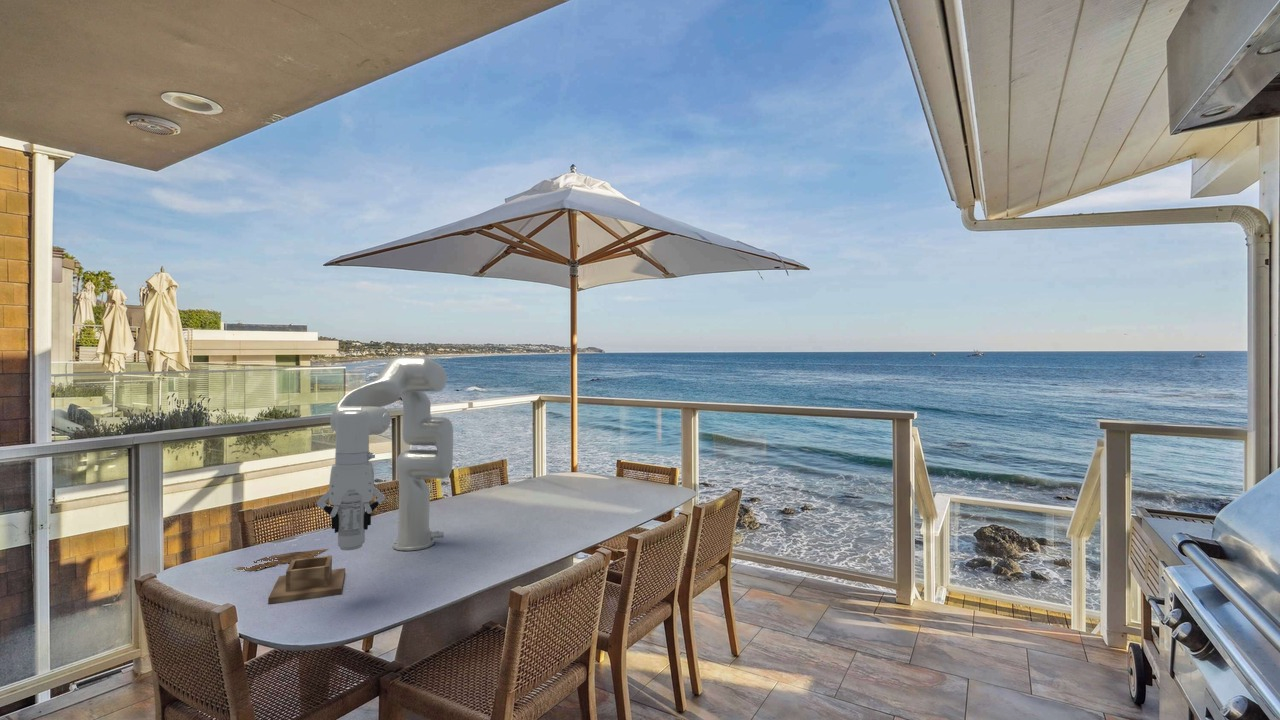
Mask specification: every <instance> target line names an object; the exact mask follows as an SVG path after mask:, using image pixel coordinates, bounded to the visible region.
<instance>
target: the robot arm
mask: <svg viewBox="0 0 1280 720" xmlns="http://www.w3.org/2000/svg"><path fill="white" fill-rule="evenodd" d="M447 381H448V377H447V372H446V370H445V368H444V367H443V366H442V365H441V364H439V363H437V362H436V361H435V360H433V359H432V358H431V359H430V358H428V357H423V356H422V357H421V356H419V357H418V356H416V357H415V356H397V357H393V358H391V359H389V360H388V361H387V362H386V364H385V365H384V366H383V367H382V369H381V371H380V372H379V373H378V375H377V376H376V377H375V379H373V381H372V382H369V383H367V384H364V385H361V386H360V387H357V388H355V389H353V390H351V391H350V392H348V393H346V394H345V395H343V397H342V398H341V399H340V400H339V402H338V403H337V404H336V405H335V407H334V409H333V411H332V413H331V415H330V419H329V420H330V421H329V423H330V424H329V425H330V428H331V430H332V431H334V433H335V456H334V457H335V458H334V459H335V460H334V461H335V462H334V463H333V464H332V465H331V469H330V473H329V474H330V475H329V487H328V490H327V491H326V492H325V493H324V495H322V496H321V497H319V499H318V500H317V501H316V505H317V506H318V507H319V508H320V509H323V511H324V512H325V513H326V514H328V515H329V516H330V517H331V530H334V534H338V509H339V506H340V505H341V498H342V496H344V495H345V494H346V493H347V492H348V491H347V490H356V491H355V492H357V493H358V494H360V495H361V499H362V503H364V507H365V525H364V529H365V531H366V530H367V531H368V528H369V526H371V525H372V513H373V511H374V510H375V509H376V508H378V506H379V505H380V504H382V502H383V501H384V500H386V495H385V494H384V493H383V492H382V491H380V489H378V488H377V487H375V475H374V474H375V473H374V466H373V462H372V461H371V460H372V459H375V458H376V452H371V451H370V436H374V435H375V436H377V435H381V434H383V433H385V432H386V431H387V430H388V429H389V427H390V424H391V419H392V418H391V414H390V412H389V411H388V410H387V409H386V408H384V407H385V406H389V405H392V404H394V403H396V402H397V401H399V399H400V398H401V401H402V406H403V407H402V410H403V412H402V413H403V414H402V439H403V442H404V443H405V444H406V445H409V446H427V447H428V446H429V447H431V446H432V447H433V446H434V447H435V448H436V449H418V448H417V449H407V450H404V451H402V452H401V453H400V454H399V455H397V458H396V472H397V477H398V523H397V524H398V525H397V527H398V528H397V529H398V530H397V531H398V532H397V533H398V535H397V540H395V541H394V542H393V543H392V549H395V550H397V551H403V552H404V551H405V552H406V551H418V550H423V549H427V548H430V547H431V546H433V545H434V541H435V540H434V539H436V538H437V539H441V538H442V539H443V538H444V533H445V532H444V531H440V530H434V531H432V530H431V529H430V506H431V505H430V501H431V500H430V497H431V496H430V495H431V493H430V492H431V490H430V488H429V486H428V484H427V483H426V481H425V479H431V480H432V479H435V480H436V479H438V480H440V479H441V480H442V479H447V478H448V477H449V476H450V475H451V473H452V471H453V470H452V469H453V463H454V462H453V461H454V460H453V457H454V426H453V424H452V421H451V420H450V419H449V418H448V417H442V416H431V403H432V402H431V400H430V398H429V396H428V395H427V392H433V393H434V392H436V393H437V392H440V391H443V390H444V388H445V387H446V384H447ZM374 496H375V497H377V498H376V499H375V500H374ZM327 500H328V503H329V504H328V503H326V501H327ZM373 500H374V501H373ZM372 501H373V502H372ZM371 502H372V503H371ZM332 506H333V507H332Z"/></svg>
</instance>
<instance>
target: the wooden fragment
mask: <svg viewBox="0 0 1280 720" xmlns="http://www.w3.org/2000/svg"><path fill="white" fill-rule="evenodd" d="M321 549H322V550H321ZM321 549H313V550H306V551H295V552H287V553H280V554H274V555H271V556H264V557H262V558H260V559H257V560H254V561H253V562H254V563H257V561H260V560H261V562H262V560H263V561H268V560H269V561H271V562H267V563H264V564H259V565H255V566H252V567H250V568H247V567H246V569H245V567H241V566H237V567H234V568H233V569H237V570H243V569H244V570H245V571H250V572H251V571H255V572H257V571H256V570H258V569H259V571H261V570H263V569H266V568H265V567H266V566H267V567H268V568H273V567H276V566H279V565H278V564H282V565H285V563H288V564H290V562H291V560H295V559H304V558H313V557H314V556H315V557H318V554H319V555H320V554H321V553H324V552H327V551H329V548H321ZM326 550H327V551H326ZM318 552H319V553H318ZM267 557H269V558H267ZM270 558H271V559H270ZM275 558H277V559H275ZM272 559H273V561H272ZM274 560H278V561H274ZM255 561H256V562H255ZM272 566H273V567H272ZM260 567H261V568H260ZM245 571H244V572H245Z"/></svg>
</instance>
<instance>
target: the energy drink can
mask: <svg viewBox="0 0 1280 720" xmlns="http://www.w3.org/2000/svg"><path fill="white" fill-rule="evenodd" d="M347 491H348V492H347V493H346V494H345V495H344V496H342V498H341V505H340V506H339V509H338V511H337V512H338V532H337V546H338V547H339V549H340V550H342V551H355V550H358V549H361V548H362V547H363V545H364V544H365V540H366V538H365V537H366V536H365V535H366V534H365V533H366V530H365V529H364V525H365V512H366V509H365V507H364V503H362V499H361V495H360V494H358V493H357V492H355V491H356V490H347Z"/></svg>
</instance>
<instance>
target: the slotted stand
mask: <svg viewBox="0 0 1280 720" xmlns="http://www.w3.org/2000/svg"><path fill="white" fill-rule="evenodd" d="M332 565H333V555H322V556H315V557H313V558H304V559H295V560H291V562H290V563H288V566H287V569H286V571H285V575H279V576H278V577H277V579H276V582H275V584H274V586H273V587H272V590H271V592H270V594H269V596H268V597H267V599H268V601H267V603H268V605H271V604H279V603H286V602H294V601H293V600H295V601H300V600H299V599H302V600H307V599H308V600H309V599H316V598H323V597H329V596H330V597H331V596H338V595H342V593H343V587H344V581H345V576H346V568H336V569H332V567H333V566H332Z"/></svg>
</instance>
